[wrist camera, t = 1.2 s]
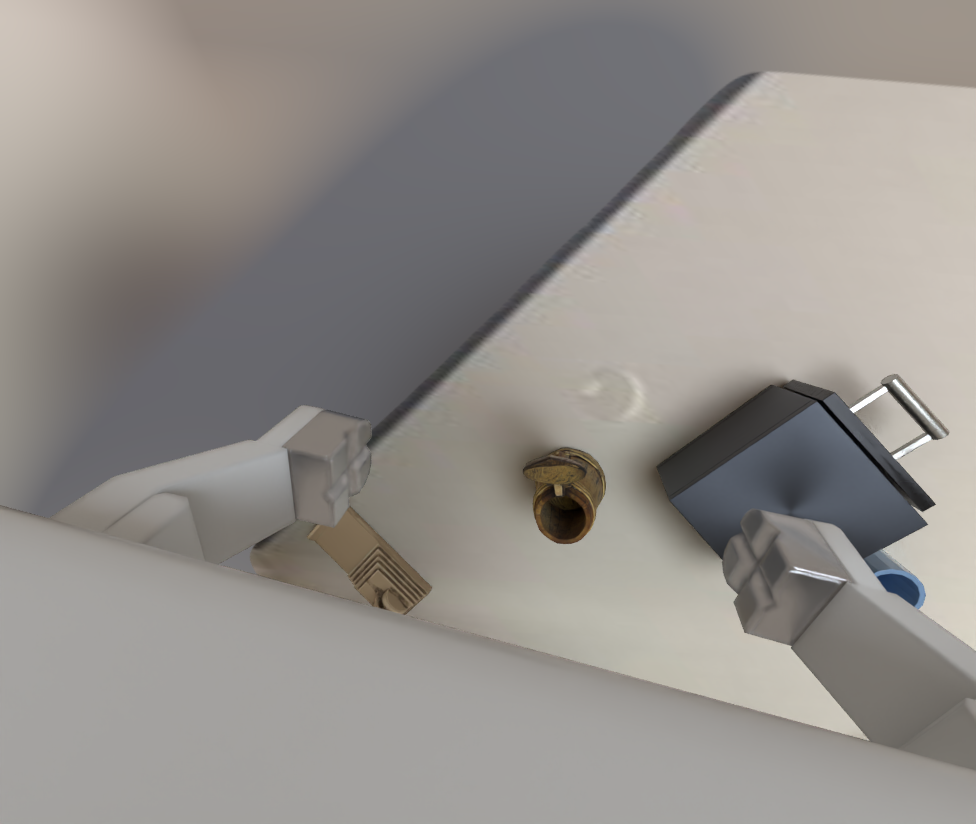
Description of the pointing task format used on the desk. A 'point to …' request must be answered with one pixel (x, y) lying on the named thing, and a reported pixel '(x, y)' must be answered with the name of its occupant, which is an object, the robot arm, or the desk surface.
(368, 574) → the banker's lamp
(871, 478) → the black box
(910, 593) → the cup
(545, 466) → the wooden mug
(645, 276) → the desk surface
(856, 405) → the drawer
